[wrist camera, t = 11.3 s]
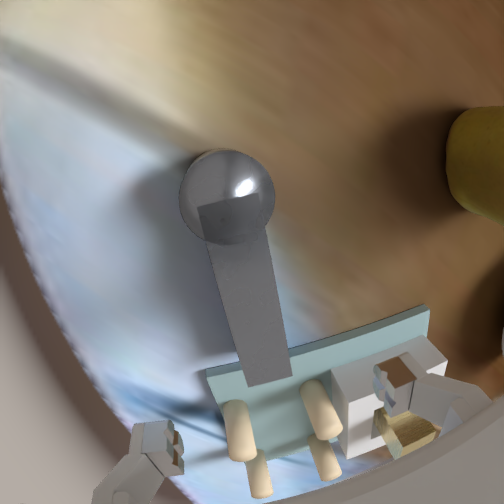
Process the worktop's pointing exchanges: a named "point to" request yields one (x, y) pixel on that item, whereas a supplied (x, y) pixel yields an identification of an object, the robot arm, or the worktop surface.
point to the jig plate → (307, 363)
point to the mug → (478, 161)
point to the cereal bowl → (503, 342)
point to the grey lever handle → (240, 255)
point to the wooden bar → (403, 431)
